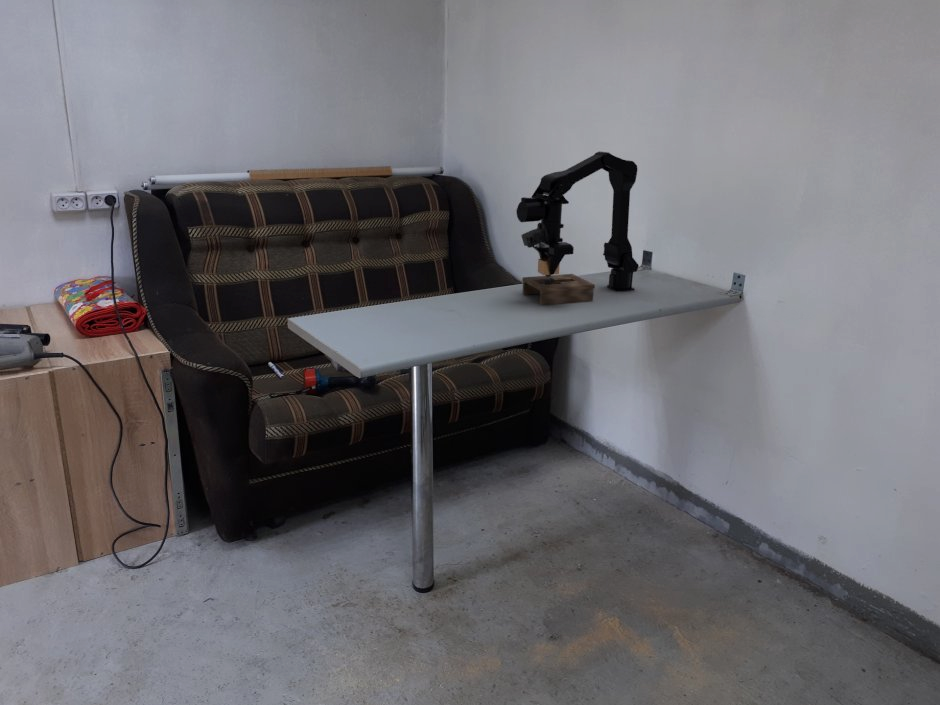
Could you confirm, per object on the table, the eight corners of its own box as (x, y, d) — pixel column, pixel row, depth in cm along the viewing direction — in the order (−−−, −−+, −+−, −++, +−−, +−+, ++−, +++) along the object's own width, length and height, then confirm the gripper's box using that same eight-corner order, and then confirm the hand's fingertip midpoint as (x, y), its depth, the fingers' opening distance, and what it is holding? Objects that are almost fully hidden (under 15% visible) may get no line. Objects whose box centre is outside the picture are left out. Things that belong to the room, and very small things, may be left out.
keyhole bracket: (571, 289, 225) (572, 273, 223) (593, 301, 212) (594, 284, 211) (521, 293, 219) (522, 277, 217) (541, 305, 207) (542, 288, 205)
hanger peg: (551, 285, 216) (552, 257, 214) (558, 289, 212) (560, 260, 209) (536, 286, 215) (537, 258, 212) (543, 290, 210) (545, 262, 208)
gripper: (512, 216, 212) (510, 267, 217) (539, 226, 196) (537, 282, 201) (546, 214, 216) (543, 265, 221) (576, 224, 199) (572, 279, 205)
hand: (548, 272), depth 212 cm, fingers closed on hanger peg, 4 cm apart
